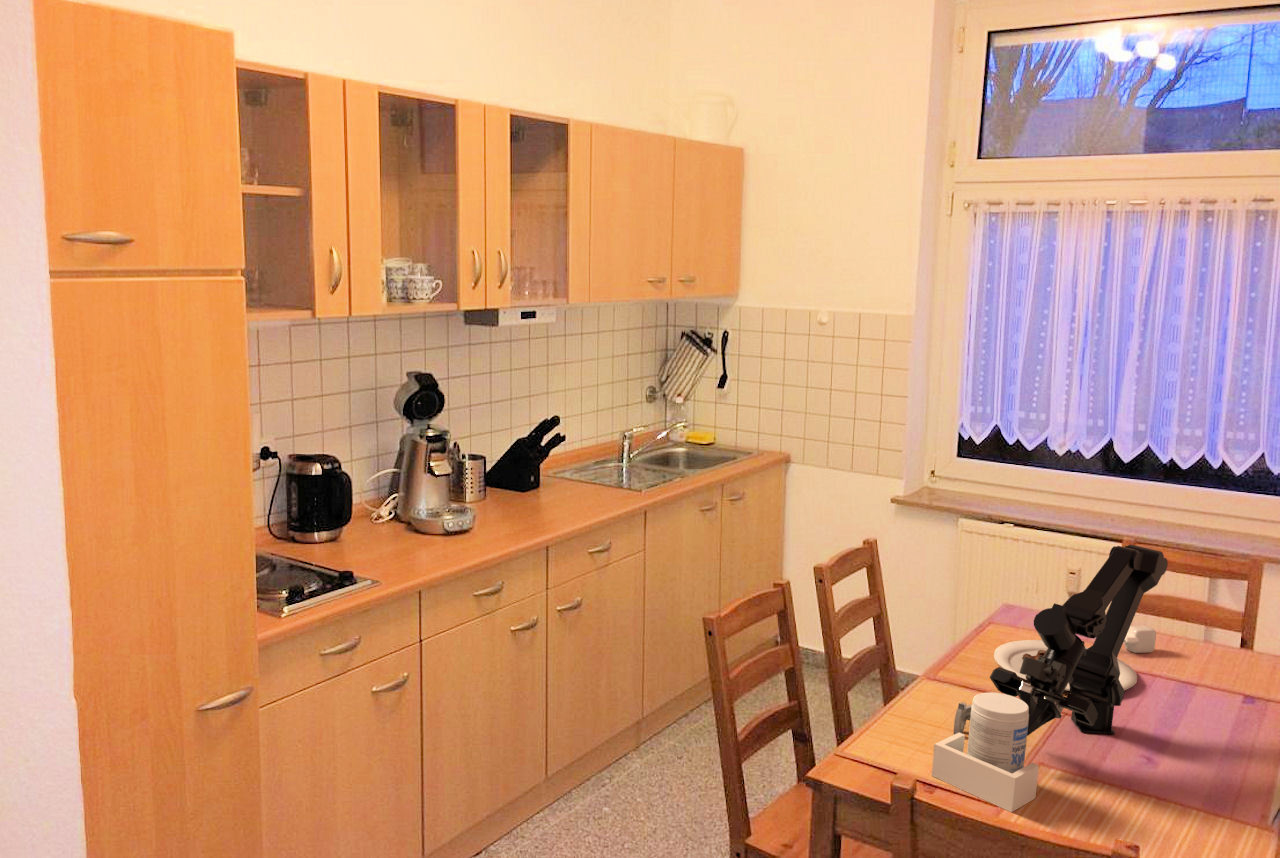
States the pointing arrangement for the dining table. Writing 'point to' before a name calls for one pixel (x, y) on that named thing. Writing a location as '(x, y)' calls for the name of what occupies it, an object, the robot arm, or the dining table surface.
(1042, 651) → the plated food
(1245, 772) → the dining table surface
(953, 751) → the cradle
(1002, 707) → the supplement tub
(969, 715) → the caliper
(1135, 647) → the power adapter
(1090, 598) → the robot arm
